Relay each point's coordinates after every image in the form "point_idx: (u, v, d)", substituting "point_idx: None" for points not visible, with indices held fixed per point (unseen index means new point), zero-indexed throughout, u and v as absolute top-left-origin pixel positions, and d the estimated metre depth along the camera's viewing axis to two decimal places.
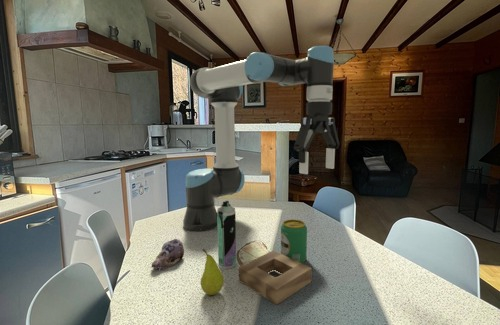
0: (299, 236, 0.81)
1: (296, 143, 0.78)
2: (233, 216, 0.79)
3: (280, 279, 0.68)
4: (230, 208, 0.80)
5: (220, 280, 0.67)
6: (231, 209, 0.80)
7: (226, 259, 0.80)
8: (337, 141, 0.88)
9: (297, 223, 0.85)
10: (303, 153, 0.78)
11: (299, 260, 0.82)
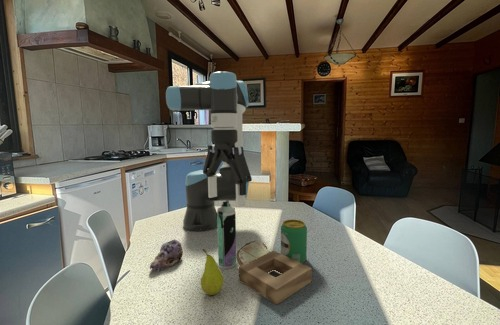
0: (299, 236, 0.81)
1: None
2: (233, 216, 0.79)
3: (280, 279, 0.68)
4: (230, 208, 0.80)
5: (220, 280, 0.67)
6: (231, 209, 0.80)
7: (226, 259, 0.80)
8: (241, 176, 0.72)
9: (297, 223, 0.85)
10: (208, 177, 0.85)
11: (299, 260, 0.82)
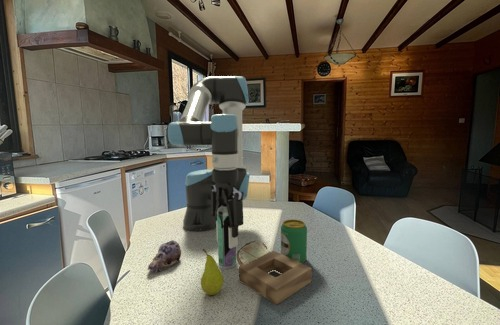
0: (299, 236, 0.81)
1: None
2: None
3: (280, 279, 0.68)
4: None
5: (220, 280, 0.67)
6: None
7: (226, 259, 0.80)
8: (235, 220, 0.76)
9: (297, 223, 0.85)
10: (216, 220, 0.84)
11: (299, 260, 0.82)
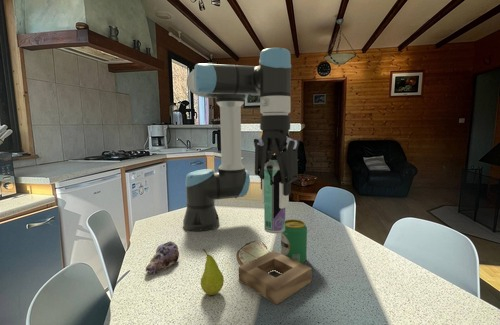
0: (299, 236, 0.81)
1: None
2: None
3: (280, 279, 0.68)
4: None
5: (220, 280, 0.67)
6: None
7: (276, 222, 0.69)
8: (289, 174, 0.65)
9: (297, 223, 0.85)
10: (261, 179, 0.73)
11: (299, 260, 0.82)
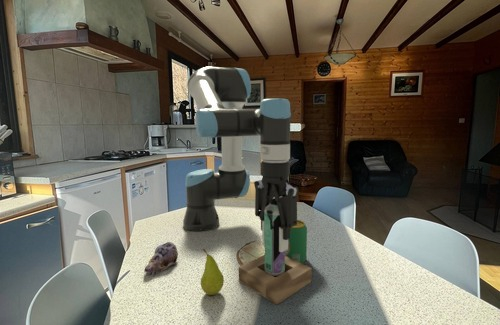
0: (299, 236, 0.81)
1: None
2: None
3: (280, 279, 0.68)
4: None
5: (220, 280, 0.67)
6: None
7: (276, 264, 0.70)
8: (288, 220, 0.67)
9: (297, 223, 0.85)
10: (261, 221, 0.74)
11: (299, 260, 0.82)
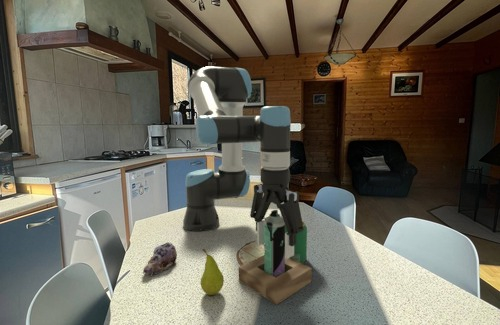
0: (299, 236, 0.81)
1: None
2: (283, 227, 0.70)
3: (280, 279, 0.68)
4: (280, 218, 0.71)
5: (220, 280, 0.67)
6: (281, 219, 0.71)
7: (275, 276, 0.71)
8: (294, 226, 0.65)
9: None
10: (256, 222, 0.76)
11: (299, 260, 0.82)
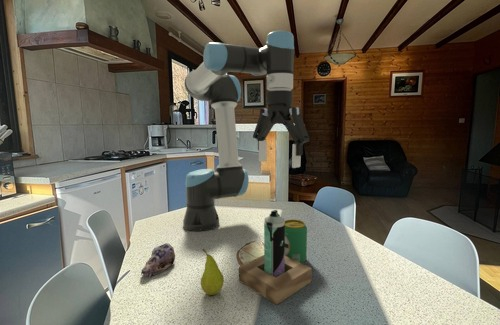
0: (299, 236, 0.81)
1: None
2: (283, 227, 0.70)
3: (280, 279, 0.68)
4: (280, 218, 0.71)
5: (220, 280, 0.67)
6: (281, 220, 0.70)
7: (275, 276, 0.71)
8: (300, 136, 0.72)
9: (297, 223, 0.85)
10: (258, 141, 0.85)
11: (299, 260, 0.82)
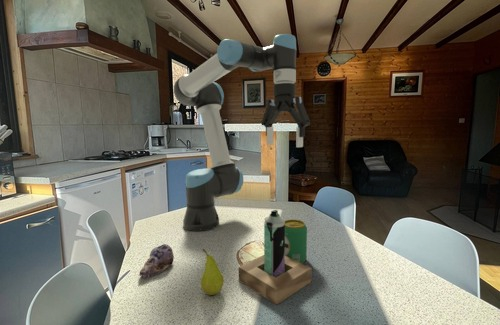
0: (299, 236, 0.81)
1: None
2: (283, 227, 0.70)
3: (280, 279, 0.68)
4: (280, 218, 0.71)
5: (220, 280, 0.67)
6: (281, 220, 0.71)
7: (275, 276, 0.71)
8: (303, 120, 0.87)
9: (297, 223, 0.85)
10: (266, 128, 1.00)
11: (299, 260, 0.82)
